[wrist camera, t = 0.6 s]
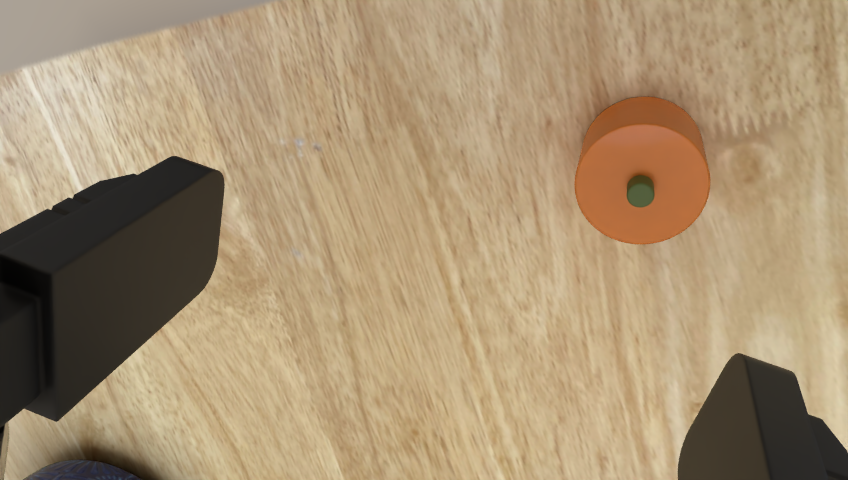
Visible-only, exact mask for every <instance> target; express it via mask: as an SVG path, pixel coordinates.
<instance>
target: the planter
mask: <svg viewBox="0 0 848 480" xmlns="http://www.w3.org/2000/svg"><path fill="white" fill-rule="evenodd" d="M23 480H142V479H140V478H138V477H137V476H135V475H133V474H131V473H129V472H127V471H125V470H123V469H120V468H118V467H115V466H113V465H110V464H106V463H102V462H97V461H89V460H69V461H62V462H58V463H54V464H51V465H49V466H46V467H44V468H42V469H40V470H38V471H36V472H34V473H33V474H31V475H30V476H28V477H26V478H25V479H23Z"/></svg>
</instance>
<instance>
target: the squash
mask: <svg viewBox="0 0 848 480" xmlns="http://www.w3.org/2000/svg"><path fill="white" fill-rule="evenodd" d="M709 190H710V173H709V168H708V164H707V160H706V155H705V151H704V146H703V142H702V138H701V134H700V132H699V129H698V127H697V125H696V124H695V122H694V121H693V119H692V118H691V117H690V116H689V115H688V114H687V113H686V112H685V111H684V110H683V109H681V108H680V107H678V106H677V105H675V104H673V103H671V102H669V101H666V100H663V99H659V98H655V97H635V98H629V99H626V100H623V101H620V102H618V103H616V104H614V105H612V106H610V107H609V108H607V109H606V110H604V111H603V112H602V113H601V114H600V115H599V116H598V117H597V118H596V119H595V120H594V121H593V123H592V124H591V126H590V127H589V129H588V131H587V133H586V136H585V138H584V142H583V146H582V150H581V155H580V159H579V163H578V167H577V171H576V175H575V194H576V199H577V202H578V205H579V207H580V209H581V211H582V213H583V214H584V216H585V217H586V219H587V220H588V221H589V222H590V223H591V225H593V226H594V227H595V228H596V229H597V230H598V231H600V232H601V233H603V234H604V235H606V236H608V237H610V238H612V239H615V240H618V241H621V242H625V243H631V244H651V243H657V242H661V241H664V240H667V239H670V238H672V237H674V236H676V235H678V234H679V233H681V232H682V231H684V230H685V229H687V228H688V227H689V226H690V225H691V224H692V223H693V222H694V221H695V220H696V219H697V218H698V216H699V215H700V213H701V212H702V210H703V208H704V206H705V204H706V202H707V199H708V195H709Z"/></svg>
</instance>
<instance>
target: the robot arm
mask: <svg viewBox="0 0 848 480" xmlns="http://www.w3.org/2000/svg"><path fill="white" fill-rule="evenodd" d="M223 197H224V178H223V175H222V173H221V172H220V171H218V170H215V169H212V168H209V167H206V166H204V165H201V164H198V163H195V162H192V161H189V160H186V159H183V158H180V157H177V156H172V157H169V158H167V159H166V160H164V161H162V162H160V163H158V164H157V165H155V166H153V167H151V168H149V169H148V170H146V171H144V172H142V173H140V174H139V175H136V174H130V175H126V176H121V177H117V178H112V179H108V180H103V181H99V182H97V183H96V184H94V185H92V186H90V187H88V188H86V189H84V190H82V191H80V192H79V193H77V194H75V195H74V197H73V199H72V198H67V199H65V200H63V201H62V202H60V203H58V204H56V205H54V206H53V208H52V210H49V209H46V210H45V211H43V212H41V213H39V214H37V215H35V216H33V217H31V218H29V219H28V220H26V221H24V222H22V223H20V224H18V225H16V226H14V227H12V228H11V229H9V230H7V231H5V232H3V233H1V234H0V480H4V473H5V465H6V457H7V449H8V442H9V425H8V421H9V420H10V419H12V418H13V417H14V416H15V415H16V414H18V413H19V412H20V411H21V410H22V409H27V410H29V411H32V412H34V413H36V414H39V415H41V416H44V417H46V418H48V419H51V420H53V421H56V422H57V421H58V420H60V419H61V418H62V417H63V416H64V415H65V414H66V413H67V412H68V411H70V410H71V409H72V408H73V407H74V406H75V405H76V404H77V403H78V402H79V401H81V400H82V399H83V398H84V397H85V396H86V395H87V394H88V393H89V392H91V391H92V390H93V389H94V388H95V387H96V386H97V385H98V384H99V383H101V382H102V381H103V380H104V379H105V378H106V377H107V376H108V375H109V374H111V373H112V372H113V371H114V370H115V369H116V368H117V367H118V366H119V365H121V364H122V363H123V362H124V361H125V360H126V359H127V358H128V357H129V356H131V355H132V354H133V353H134V352H135V351H136V350H137V349H138V348H139V347H141V346H142V345H143V344H144V343H145V342H146V341H147V340H148V339H149V338H151V337H152V336H153V335H154V334H155V333H156V332H157V331H158V330H159V329H161V328H162V327H163V326H164V325H165V324H166V323H167V322H168V321H169V320H171V319H172V318H173V317H174V316H175V315H176V314H177V313H178V312H179V311H181V310H182V309H183V308H184V307H185V306H186V305H187V304H188V303H189V302H191V301H192V300H193V299H194V298H195V297H196V296H197V295H198V294H199V293H200V292H201V291H202V290H203V289H204V288H205V286H206V285H207V283H208V281H209V280H210V278H211V275H212V273H213V271H214V268H215V265H216V261H217V255H218V245H219V236H220V226H221V216H222V207H223ZM678 480H848V453H847V450H846V449H845V448H844V447H843V445H842V444H841V443H840V442H839V440H838V439H837V438H836V436H835V435H834V434H833V433H832V431H831V430H830V429H829V428H828V426H827V425H826V424H825V423H824V421H823V420H822V419H820V418H817V417H814V416H811V415H808V413H807V410H806V406H805V403H804V400H803V397H802V394H801V391H800V387H799V384H798V381H797V378H796V376H795V374H794V373H793V372H792V371H789V370H786V369H784V368H781V367H778V366H775V365H772V364H769V363H766V362H763V361H761V360H758V359H755V358H752V357H749V356H746V355H743V354H740V353H737V354H735V355H734V356H732V357H731V359H730V360H729V361H728V362H727V364H726V365H725V367H724V369H723V371H722V372H721V374H720V376H719V378H718V379H717V381H716V383H715V385H714V387H713V388H712V390H711V392H710V394H709V395H708V397H707V399H706V401H705V402H704V404H703V406H702V408H701V410H700V411H699V413H698V415H697V417H696V418H695V420H694V422H693V424H692V425H691V427H690V429H689V431H688V433H687V435H686V437H685V440H684V443H683V446H682V449H681V453H680V458H679V463H678Z"/></svg>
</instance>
